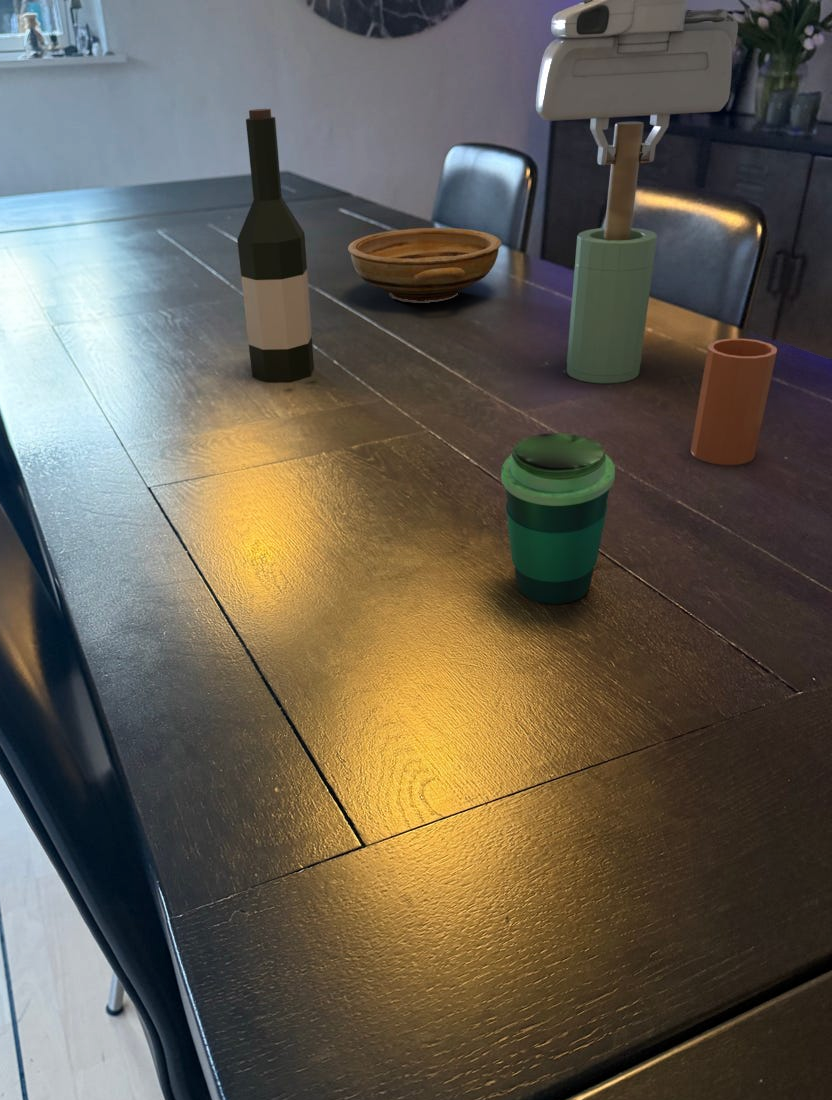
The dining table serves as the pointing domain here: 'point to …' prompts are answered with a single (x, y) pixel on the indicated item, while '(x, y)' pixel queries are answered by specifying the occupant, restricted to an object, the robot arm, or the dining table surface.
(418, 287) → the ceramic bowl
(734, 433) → the cup
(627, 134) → the wooden rod
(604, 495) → the cup
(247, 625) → the dining table surface
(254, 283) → the wine bottle
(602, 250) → the mint green tube
